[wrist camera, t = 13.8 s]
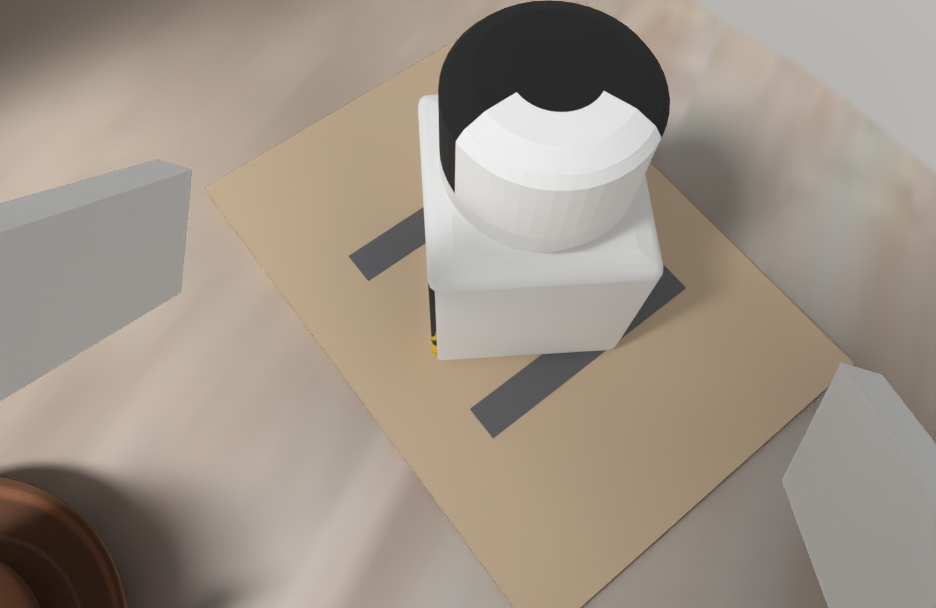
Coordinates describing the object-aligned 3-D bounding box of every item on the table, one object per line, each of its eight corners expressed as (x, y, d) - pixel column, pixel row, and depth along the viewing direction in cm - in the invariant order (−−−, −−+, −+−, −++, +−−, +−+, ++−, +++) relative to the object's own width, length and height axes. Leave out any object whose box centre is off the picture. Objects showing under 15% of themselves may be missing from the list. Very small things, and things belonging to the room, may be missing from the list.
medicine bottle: (423, 201, 30) (409, -30, 19) (591, 193, 31) (672, -40, 20) (432, 363, 28) (423, 202, 16) (616, 352, 28) (727, 186, 17)
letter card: (207, 192, 31) (204, 187, 30) (499, 20, 35) (499, 13, 34) (539, 642, 24) (541, 642, 24) (849, 366, 28) (854, 363, 28)
